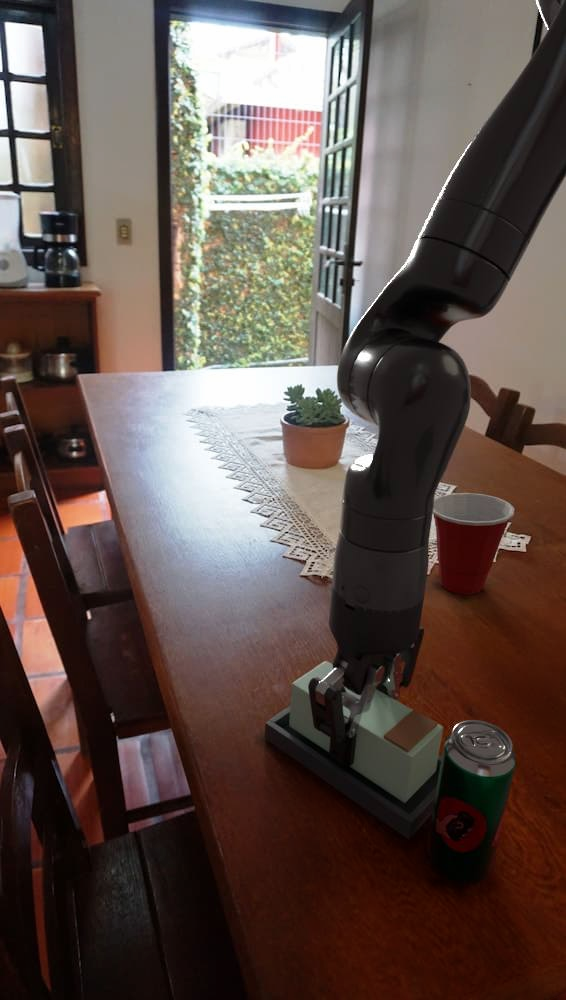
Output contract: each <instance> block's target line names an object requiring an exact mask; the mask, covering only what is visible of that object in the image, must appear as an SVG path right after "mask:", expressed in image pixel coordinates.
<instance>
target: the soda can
mask: <svg viewBox="0 0 566 1000" xmlns="http://www.w3.org/2000/svg"><path fill="white" fill-rule="evenodd" d="M441 756H442V760H441V766H440V771H439V777H438V783H437V789H436V794H435V800H434V806H433V812H432V815H431V816H430V824H429V830H428V835H427V842H426V855H427V857H428V860H429V861H430V863H431V865H432V866H433V868H434V869H435V870H436V871H437V872H438V873H439V874H441V875H442V876H443V877H444V878H446V879H448V880H449V881H452V882H454V883H458V884H464V885H471V884H476V883H480V882H481V881H484V880H485V879H486V878H488V876H489V875H490V873H491V872H492V870H493V865H494V861H495V857H496V853H497V848H498V844H499V840H500V835H501V831H502V826H503V822H504V819H505V813H506V809H507V804H508V800H509V796H510V793H511V792H510V791H511V786H512V782H513V778H514V773H515V770H516V765H517V757H516V754H515V751H514V745H513V742H512V739H511V737H510V736H509V734H507V733H506V732H505V731H504V730H503V729H502V728H500V727H499V726H497V725H495V724H494V723H493V724H492V723H490V722H487V721H484V720H478V719H468V720H463V721H460V722H458V723H457V724H456V725H454V727H453V728H452V730H451V732H450V733H449V734H448V735H447V736H446V737H445V739H444V742H443V748H442V754H441Z"/></svg>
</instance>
